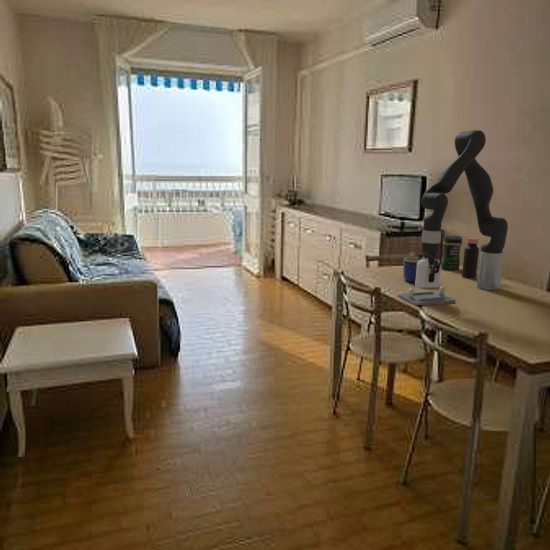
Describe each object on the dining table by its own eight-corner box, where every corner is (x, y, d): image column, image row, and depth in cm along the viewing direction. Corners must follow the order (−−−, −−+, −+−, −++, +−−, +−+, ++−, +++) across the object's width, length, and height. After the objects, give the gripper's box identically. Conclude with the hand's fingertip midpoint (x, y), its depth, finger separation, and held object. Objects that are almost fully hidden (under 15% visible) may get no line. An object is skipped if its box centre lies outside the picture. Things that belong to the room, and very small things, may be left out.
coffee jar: (444, 270, 260) (447, 236, 256) (438, 267, 268) (441, 234, 263) (461, 270, 261) (464, 236, 256) (455, 267, 268) (458, 234, 264)
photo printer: (436, 285, 208) (438, 257, 205) (440, 287, 204) (443, 259, 201) (413, 286, 206) (415, 257, 203) (417, 288, 202) (420, 259, 199)
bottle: (459, 277, 246) (463, 238, 241) (464, 275, 251) (468, 237, 246) (473, 279, 241) (477, 240, 236) (478, 277, 246) (482, 238, 241)
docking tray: (436, 293, 215) (436, 282, 214) (455, 302, 202) (456, 290, 201) (398, 296, 210) (398, 285, 209) (415, 306, 197) (416, 293, 196)
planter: (433, 283, 233) (435, 261, 231) (410, 284, 231) (411, 262, 228) (419, 277, 245) (421, 256, 243) (397, 278, 242) (399, 257, 240)
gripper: (449, 243, 195) (445, 284, 199) (429, 238, 208) (425, 276, 212) (432, 244, 193) (429, 285, 197) (413, 238, 206) (410, 277, 210)
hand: (427, 280), depth 204 cm, fingers closed on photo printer, 4 cm apart
